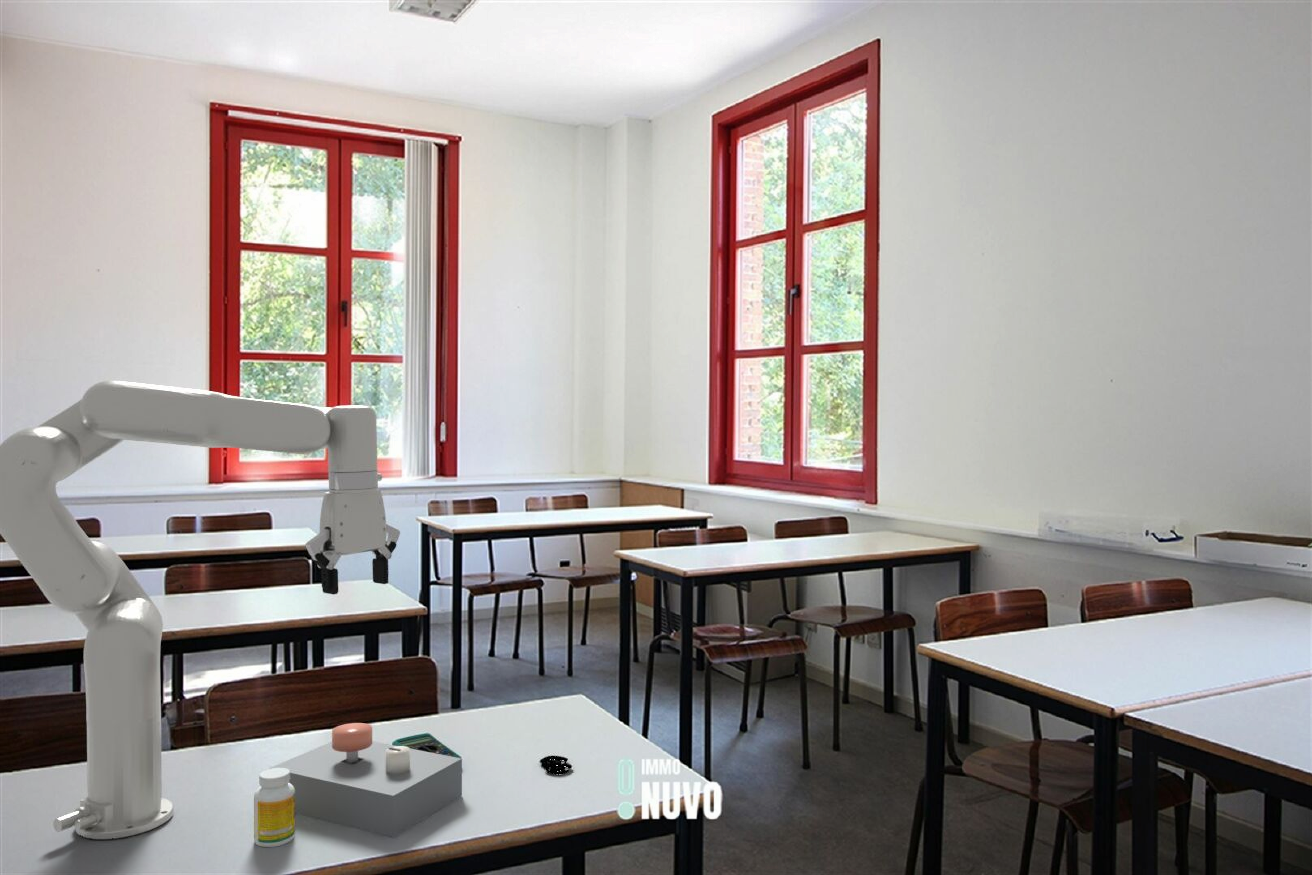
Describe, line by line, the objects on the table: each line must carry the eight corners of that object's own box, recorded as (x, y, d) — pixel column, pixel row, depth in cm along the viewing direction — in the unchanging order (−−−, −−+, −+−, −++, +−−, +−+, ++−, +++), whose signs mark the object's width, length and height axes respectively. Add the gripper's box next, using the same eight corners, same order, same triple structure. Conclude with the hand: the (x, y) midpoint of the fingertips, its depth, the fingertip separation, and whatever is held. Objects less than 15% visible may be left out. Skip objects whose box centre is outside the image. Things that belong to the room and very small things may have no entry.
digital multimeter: (422, 781, 156) (422, 764, 156) (390, 754, 168) (390, 738, 168) (463, 771, 160) (463, 754, 160) (429, 746, 172) (429, 730, 172)
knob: (399, 775, 142) (399, 754, 142) (380, 771, 143) (380, 750, 143) (414, 767, 145) (414, 746, 145) (396, 763, 146) (396, 743, 146)
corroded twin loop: (547, 779, 157) (547, 773, 157) (536, 762, 164) (536, 756, 164) (576, 775, 158) (576, 769, 158) (564, 758, 166) (564, 753, 166)
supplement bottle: (247, 839, 133) (247, 772, 133) (284, 827, 137) (284, 762, 137) (264, 852, 130) (264, 783, 129) (302, 839, 134) (301, 772, 133)
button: (353, 771, 144) (353, 737, 144) (323, 764, 146) (323, 732, 146) (380, 758, 149) (380, 726, 149) (351, 752, 152) (351, 720, 152)
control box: (393, 837, 134) (393, 795, 134) (270, 806, 145) (269, 767, 144) (461, 796, 149) (461, 758, 149) (345, 771, 159) (345, 735, 159)
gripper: (382, 477, 161) (384, 577, 161) (291, 485, 147) (294, 595, 147) (411, 479, 156) (413, 581, 157) (321, 487, 142) (324, 600, 143)
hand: (356, 588), depth 152 cm, fingers open, 9 cm apart
